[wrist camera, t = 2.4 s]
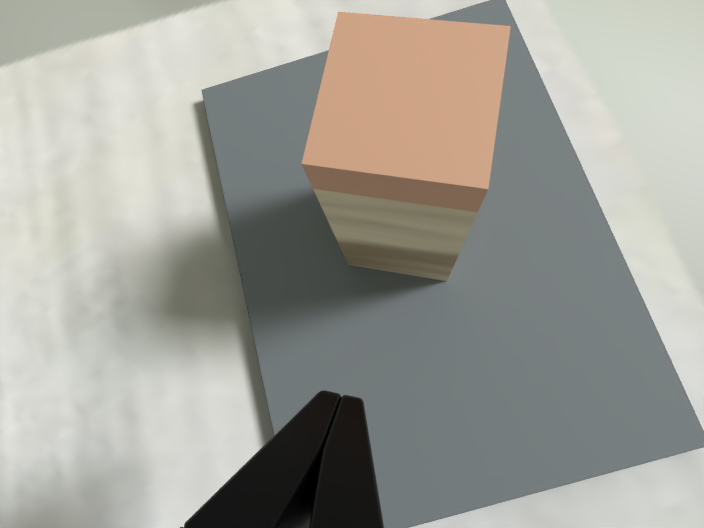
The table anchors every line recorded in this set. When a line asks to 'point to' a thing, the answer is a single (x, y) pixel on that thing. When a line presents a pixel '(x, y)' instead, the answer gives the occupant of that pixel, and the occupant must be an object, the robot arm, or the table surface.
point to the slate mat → (452, 308)
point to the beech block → (405, 137)
